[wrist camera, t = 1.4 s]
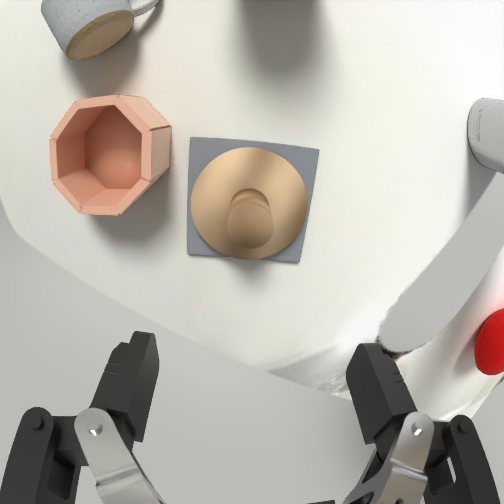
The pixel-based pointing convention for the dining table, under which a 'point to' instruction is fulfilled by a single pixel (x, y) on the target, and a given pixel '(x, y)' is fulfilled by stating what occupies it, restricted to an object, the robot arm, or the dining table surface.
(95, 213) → the bowl
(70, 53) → the ceramic mug
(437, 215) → the dining table surface
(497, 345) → the tomato
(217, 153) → the mat
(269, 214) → the lid
